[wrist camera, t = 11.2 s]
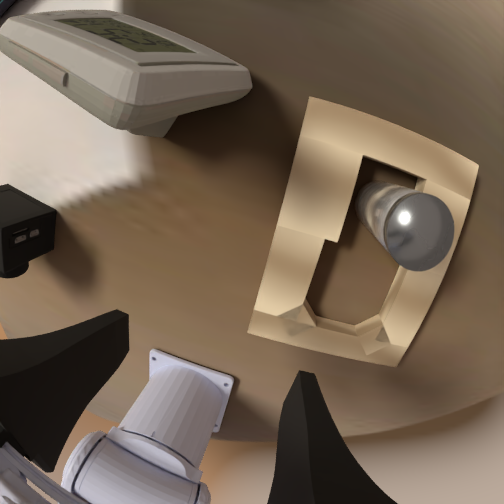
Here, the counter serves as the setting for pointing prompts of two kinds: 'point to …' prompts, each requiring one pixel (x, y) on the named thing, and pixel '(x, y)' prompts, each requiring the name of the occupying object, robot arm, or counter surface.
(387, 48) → the counter surface
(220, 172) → the counter surface
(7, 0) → the portable speaker
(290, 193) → the keyhole board
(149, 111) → the digital clock
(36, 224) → the digital camera
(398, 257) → the peg
